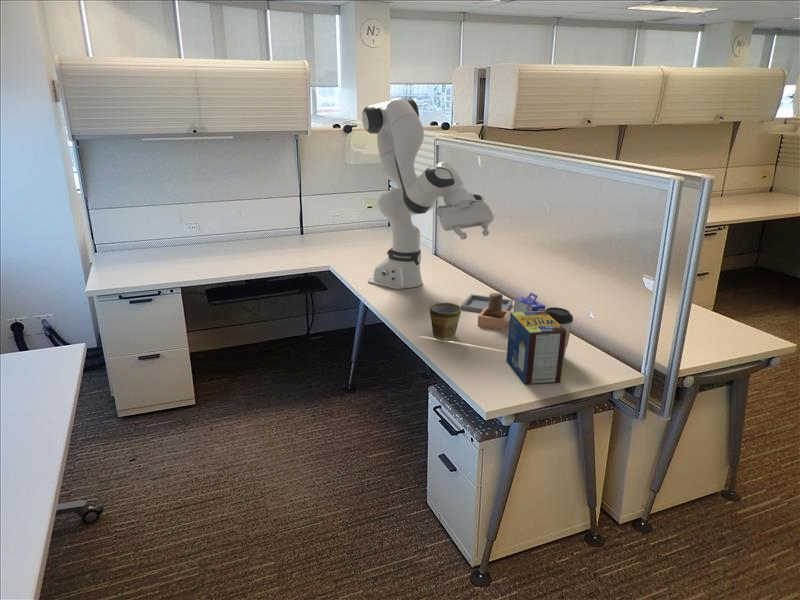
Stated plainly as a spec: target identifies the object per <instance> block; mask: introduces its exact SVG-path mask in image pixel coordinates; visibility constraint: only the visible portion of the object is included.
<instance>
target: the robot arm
mask: <svg viewBox="0 0 800 600" xmlns="http://www.w3.org/2000/svg"><path fill="white" fill-rule="evenodd" d="M361 113H362V114H361V115H362V116H361V122H362V125H363V127H364V129H365V131H366V132H368V134H371V135H372V134H375V135H376V134H377V136H376V142H377V149H378V154H379V158H380V161H381V166H382V168H383V172H384V176H385V177H386V179H387V180H389V181H390V182H392V183H393V184H394V185H396V187H397V188H392V189H388V190H386V191H383V192H382V193H381V194H380V195H379V198H378V200H377V201H378V202H377V205H378V210H379V211H380V213H381V215H383V217H385V218H386V219H387V220H388V222H389V224H390V227H391V234H392V235H391V237H392V246H391V247H390V249H388V250H387V251H386V255H388V256H387V257H386V258H385V259H383V260H382V261H381V262H379V263H378V264H377V265H376V266H375V268H374V271H373V274H372V275H371V276H369V277H368V279H367V282H368V283H369V284H373V285H377V286H381V287H386V288H389V289H395V290H400V289H401V290H402V289H409V288H410V289H411V288H416V287H419V286H422V284H423V279H422V274H421V260H422V250H421V248H420V247H421V231H420V229H419V228H418V226H416V225H414V224H413V221H412V216H415V215H422V214H426V213H428V211H431V210H432V209H433V208H434V206H435V204H436V203H435V202H436V201H437V200H438V199H439V197H442V198H443V201H444V202H443V203H444V205H439V206H438V207H436V210H435V211H436V213H437V215H438V218H439V221H440V226H441V228H442V229H443V231H444V230H445V232H448V231H453V232H454V233H455V234H456V235H458V237H460V240H466V239H467V237H468V235H467V233H466V231H465V232H464V231H462V230H461V229H468V228H475V227H481V228H482V229H483V231H481V234H482V236H484V237H486V236H487V237H488V236H489V235H490V232H489V225H490V224H491V223H492V222H493V221H494V219H495V218H494V217H495V215H494V214H493V212H492V210H491V208H490V206H489V205H488V204H487V203H486V202H485V198H484V196H483V195H481V194H477V193H472V192H469V191H468V190H467V188H466V187H465V186H464V183H463V180H462V177H461V175H460V174H459V172H458V171H457V169H456V168H455V166H453V164H452V163H450V162H448V161H442V162H438V163H436V164H435V165H434V166H429V167H427V168H426V169H425V170H424V171H423V172H422V173H421V174H420V175H419V176H418V175H417V173H416V172H415V167H414V166H415V160H416V158H417V157H416V156H417V154H418V152H419V150H420V148H421V146H422V144H423V141H424V138H425V132H424V127H423V124H422V121H421V120H420V118H419V117H420V114H419V113H420V112H419V107H418V104H417V103H416V101H415V100H414V99H412V98H403V97H396V98H393V99H388V100H386V101H383V102H377V103H374V104H370V105H368V106H366V107H364V108H363V110H362V112H361Z"/></svg>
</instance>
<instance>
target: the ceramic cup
mask: <svg viewBox="0 0 800 600" xmlns="http://www.w3.org/2000/svg"><path fill="white" fill-rule="evenodd" d="M461 312H462V310H461V305H459V304H455V303H453V302H435V303H432V304H430V305H429V315H430V321H431V328H432V330H431V331H432V335H433V336H434V338H435V340H438V341H442V342H447V341H449V342H450V340H452V339H453V338H455V336H456V332H457V330H458V329H457V328H458V324H459V320H460V317H461Z"/></svg>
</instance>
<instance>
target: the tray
mask: <svg viewBox="0 0 800 600" xmlns="http://www.w3.org/2000/svg"><path fill="white" fill-rule="evenodd" d="M488 306H489V295H488V296H487V295H479V294H475V293H474V294H473V293H470V295H469V296H468V297H467V298H466V299H465V300H464V301H463V303H462V304H461V305H460V307H461V311H467V312H469V311H470V312H475V313H479V314H480V313H481V312H482V310H483V309H484V308H488ZM512 306H514V300H513V299H508V298H502V310H505V311H510V309H511V307H512Z"/></svg>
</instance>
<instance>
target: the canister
mask: <svg viewBox="0 0 800 600" xmlns="http://www.w3.org/2000/svg"><path fill="white" fill-rule="evenodd" d="M488 297H489V306H488V317H495V318H501V310H502V299H504V298H503V294H501V293H498V292H492V293H489V295H488Z"/></svg>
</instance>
